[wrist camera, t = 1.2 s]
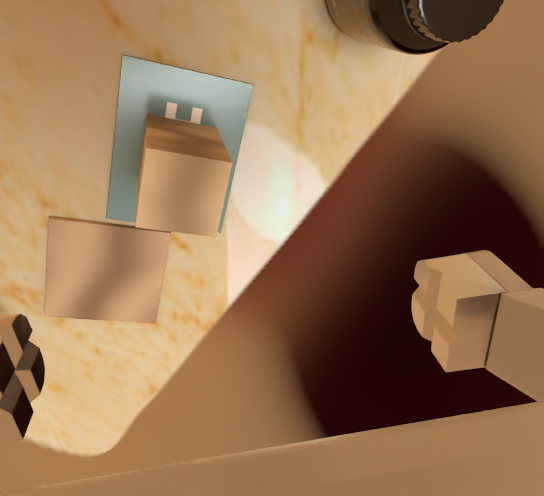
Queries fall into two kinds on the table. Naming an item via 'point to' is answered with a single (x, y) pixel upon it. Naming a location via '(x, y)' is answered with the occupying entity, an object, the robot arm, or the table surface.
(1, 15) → the table surface
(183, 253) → the table surface
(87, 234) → the cork mat
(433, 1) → the supplement bottle
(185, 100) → the tile
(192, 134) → the oak block
